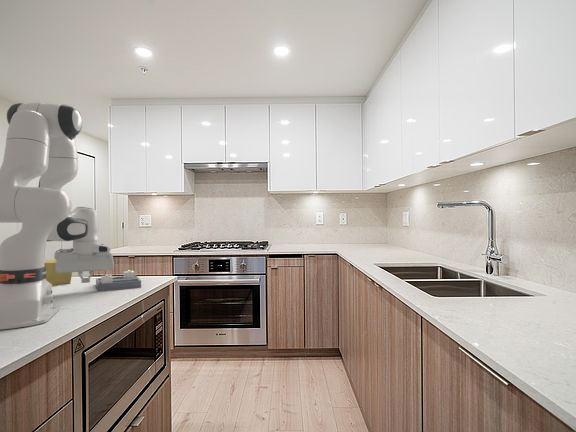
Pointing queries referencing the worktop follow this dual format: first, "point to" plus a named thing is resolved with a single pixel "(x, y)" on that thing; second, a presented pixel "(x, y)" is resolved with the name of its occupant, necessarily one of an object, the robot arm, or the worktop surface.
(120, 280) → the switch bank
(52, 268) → the cheese
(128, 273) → the tab far
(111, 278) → the tab near
